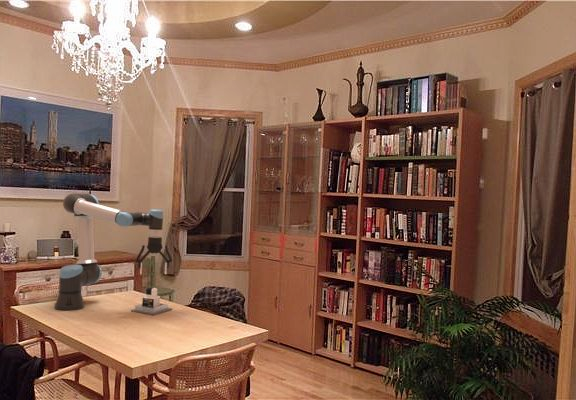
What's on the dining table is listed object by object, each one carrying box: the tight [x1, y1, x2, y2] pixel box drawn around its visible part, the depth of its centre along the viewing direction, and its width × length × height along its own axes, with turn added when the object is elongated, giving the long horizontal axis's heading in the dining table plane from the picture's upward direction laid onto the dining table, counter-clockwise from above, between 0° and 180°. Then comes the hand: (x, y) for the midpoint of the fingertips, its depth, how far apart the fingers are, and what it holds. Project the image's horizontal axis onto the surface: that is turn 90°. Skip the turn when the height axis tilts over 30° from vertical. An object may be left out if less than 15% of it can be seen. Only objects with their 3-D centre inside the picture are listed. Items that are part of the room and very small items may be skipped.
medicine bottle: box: [141, 287, 161, 308], centre depth 266 cm, size 7×7×12 cm
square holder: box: [130, 302, 173, 316], centre depth 266 cm, size 16×16×3 cm
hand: (153, 274), depth 266 cm, fingers open, 13 cm apart
